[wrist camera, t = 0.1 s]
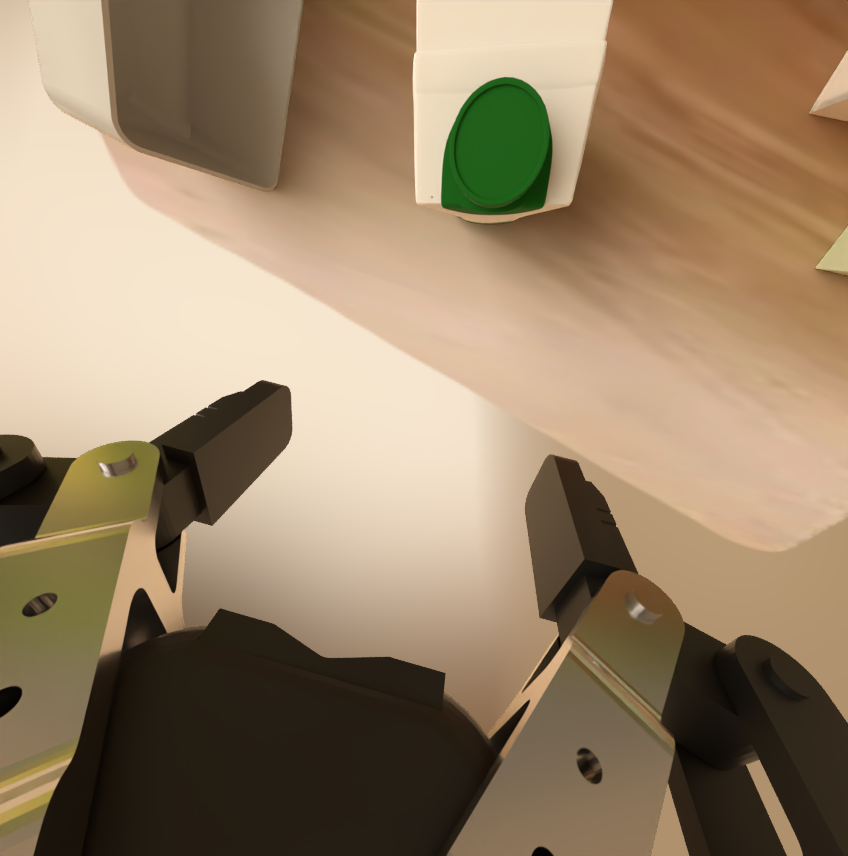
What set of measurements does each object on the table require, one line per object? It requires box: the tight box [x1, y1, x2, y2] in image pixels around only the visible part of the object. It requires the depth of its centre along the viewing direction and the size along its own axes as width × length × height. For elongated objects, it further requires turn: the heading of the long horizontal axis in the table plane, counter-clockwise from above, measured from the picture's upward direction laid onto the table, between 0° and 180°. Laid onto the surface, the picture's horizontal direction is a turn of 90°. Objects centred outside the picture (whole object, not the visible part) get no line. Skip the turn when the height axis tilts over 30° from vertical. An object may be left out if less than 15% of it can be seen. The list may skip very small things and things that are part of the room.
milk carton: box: [413, 0, 613, 224], centre depth 20 cm, size 9×9×20 cm
